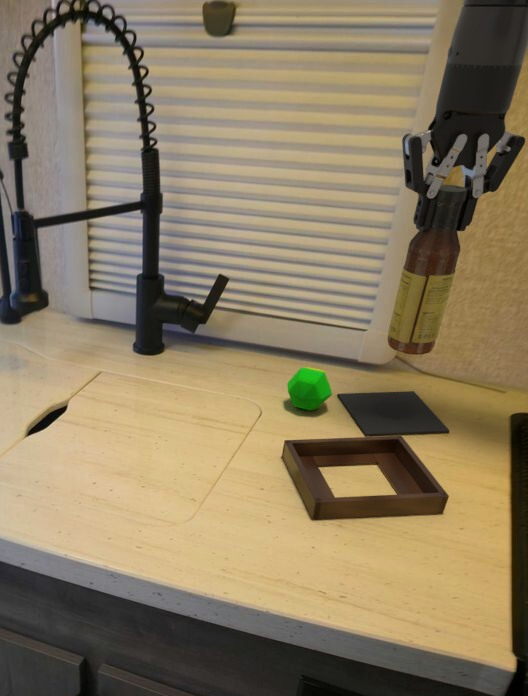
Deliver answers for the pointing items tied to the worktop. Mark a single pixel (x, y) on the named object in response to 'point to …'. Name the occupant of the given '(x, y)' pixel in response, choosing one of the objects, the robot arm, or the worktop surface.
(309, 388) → the green faceted block
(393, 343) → the sauce bottle
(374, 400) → the rubber mat
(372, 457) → the picture frame
